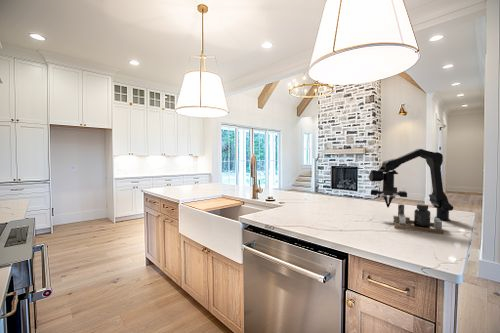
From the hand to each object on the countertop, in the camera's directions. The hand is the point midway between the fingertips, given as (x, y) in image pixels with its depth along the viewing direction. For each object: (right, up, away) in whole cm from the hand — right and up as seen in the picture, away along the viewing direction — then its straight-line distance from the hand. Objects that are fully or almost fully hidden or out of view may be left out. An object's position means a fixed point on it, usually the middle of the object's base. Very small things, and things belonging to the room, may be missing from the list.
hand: (388, 207), depth 143 cm
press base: (+7, -7, -14) cm, 17 cm away
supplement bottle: (+7, -8, -19) cm, 21 cm away
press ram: (+2, -7, -10) cm, 12 cm away
